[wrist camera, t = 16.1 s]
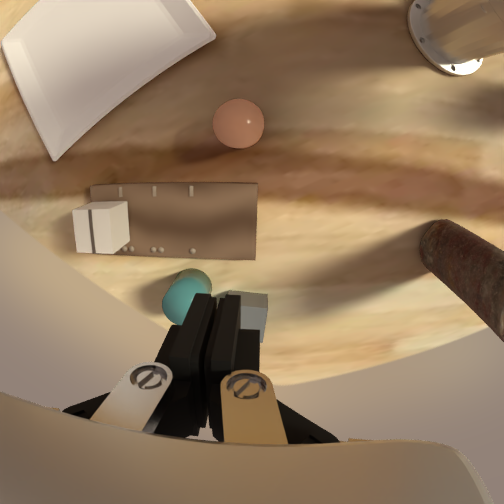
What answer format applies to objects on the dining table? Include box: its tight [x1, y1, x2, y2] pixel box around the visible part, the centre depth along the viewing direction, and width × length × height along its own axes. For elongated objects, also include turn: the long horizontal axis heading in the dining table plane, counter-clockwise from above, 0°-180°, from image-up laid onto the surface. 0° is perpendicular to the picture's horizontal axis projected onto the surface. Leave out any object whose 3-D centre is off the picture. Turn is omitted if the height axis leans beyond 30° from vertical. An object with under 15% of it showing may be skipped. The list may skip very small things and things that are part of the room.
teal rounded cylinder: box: [162, 268, 212, 325], centre depth 38 cm, size 5×5×6 cm
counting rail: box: [90, 182, 258, 260], centre depth 37 cm, size 9×21×2 cm, turn 89°
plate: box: [1, 0, 216, 161], centre depth 30 cm, size 26×26×2 cm
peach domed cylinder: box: [213, 99, 264, 149], centre depth 32 cm, size 5×5×6 cm
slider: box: [72, 201, 130, 254], centre depth 34 cm, size 5×5×5 cm
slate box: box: [228, 290, 268, 343], centre depth 40 cm, size 5×5×4 cm
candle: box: [420, 219, 504, 342], centre depth 29 cm, size 8×7×20 cm
